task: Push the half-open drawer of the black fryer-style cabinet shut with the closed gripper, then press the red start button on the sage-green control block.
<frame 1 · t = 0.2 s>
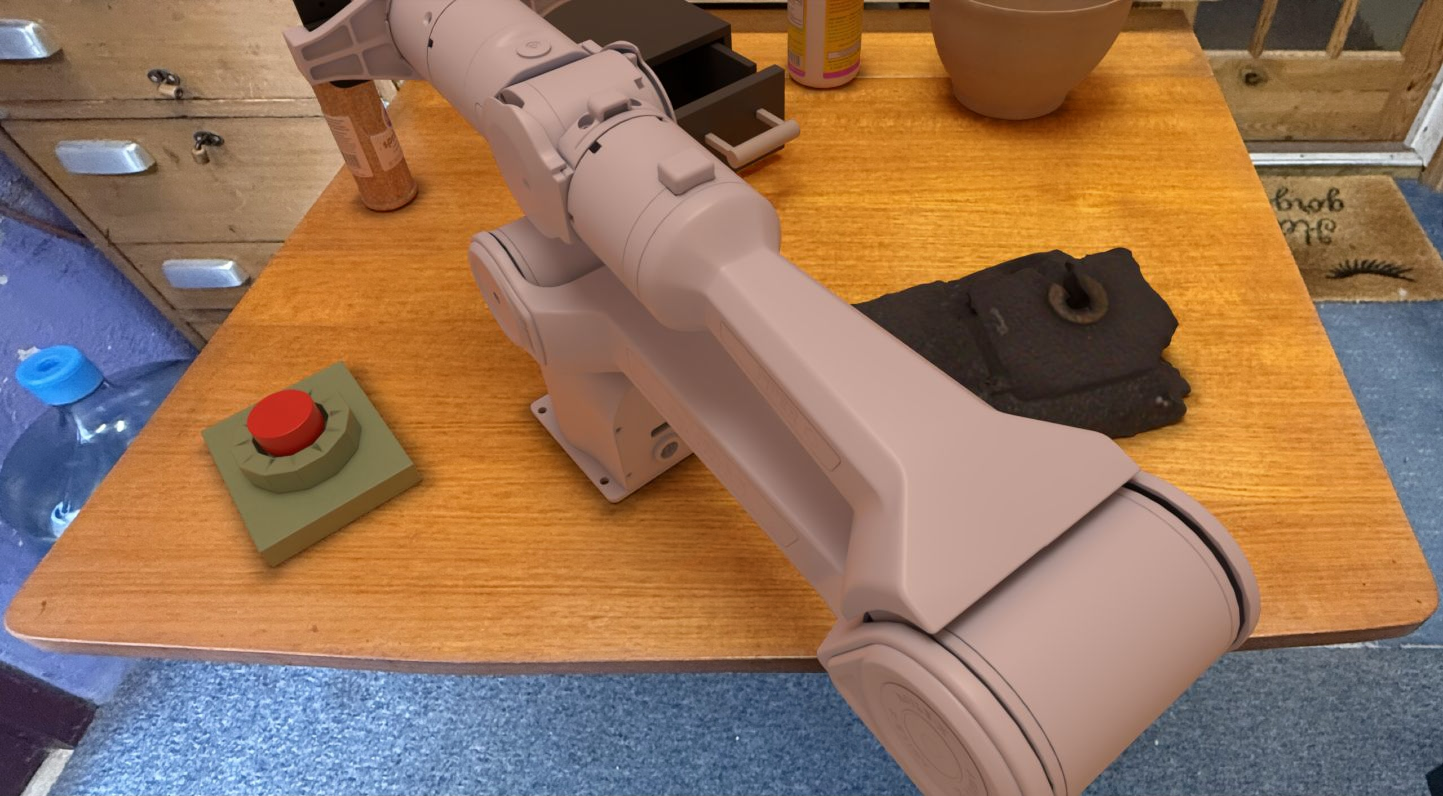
cabinet: (637, 115, 74), on the table
sprinkles bottle: (391, 198, 68), on the table
supplement bottle: (822, 75, 78), on the table
planter bowl: (1006, 96, 73), on the table
drawer: (701, 114, 66), point 4 cm above the table, slide at 6.0 cm
start button: (286, 422, 47), point 4 cm above the table, slide at 0.1 cm
control block: (316, 463, 50), on the table
black stepped slab: (984, 367, 53), on the table
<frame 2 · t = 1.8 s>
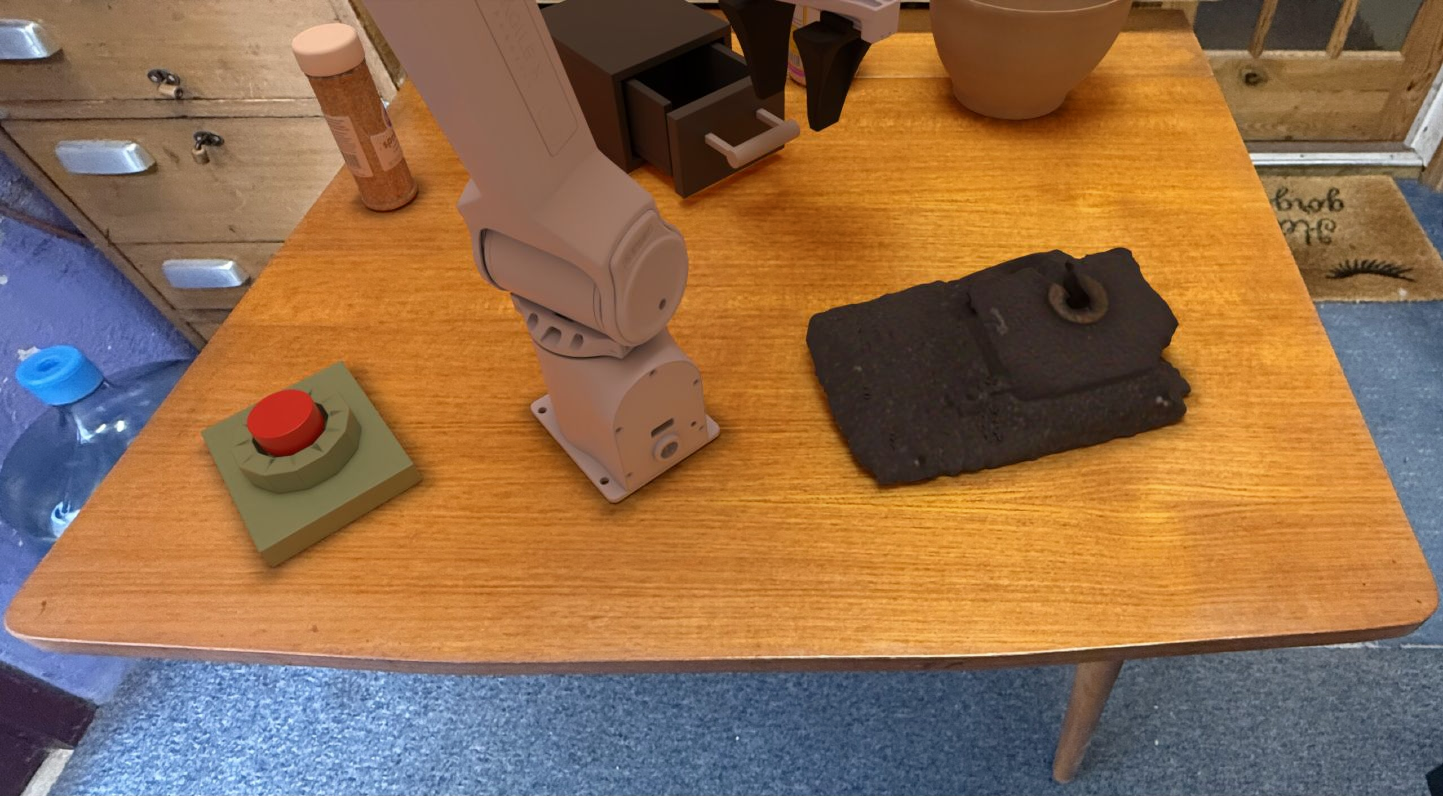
hand: (796, 109, 56), 9 cm above the table, tool pointing down, fingers open, 5 cm apart
nothing on the table moved.
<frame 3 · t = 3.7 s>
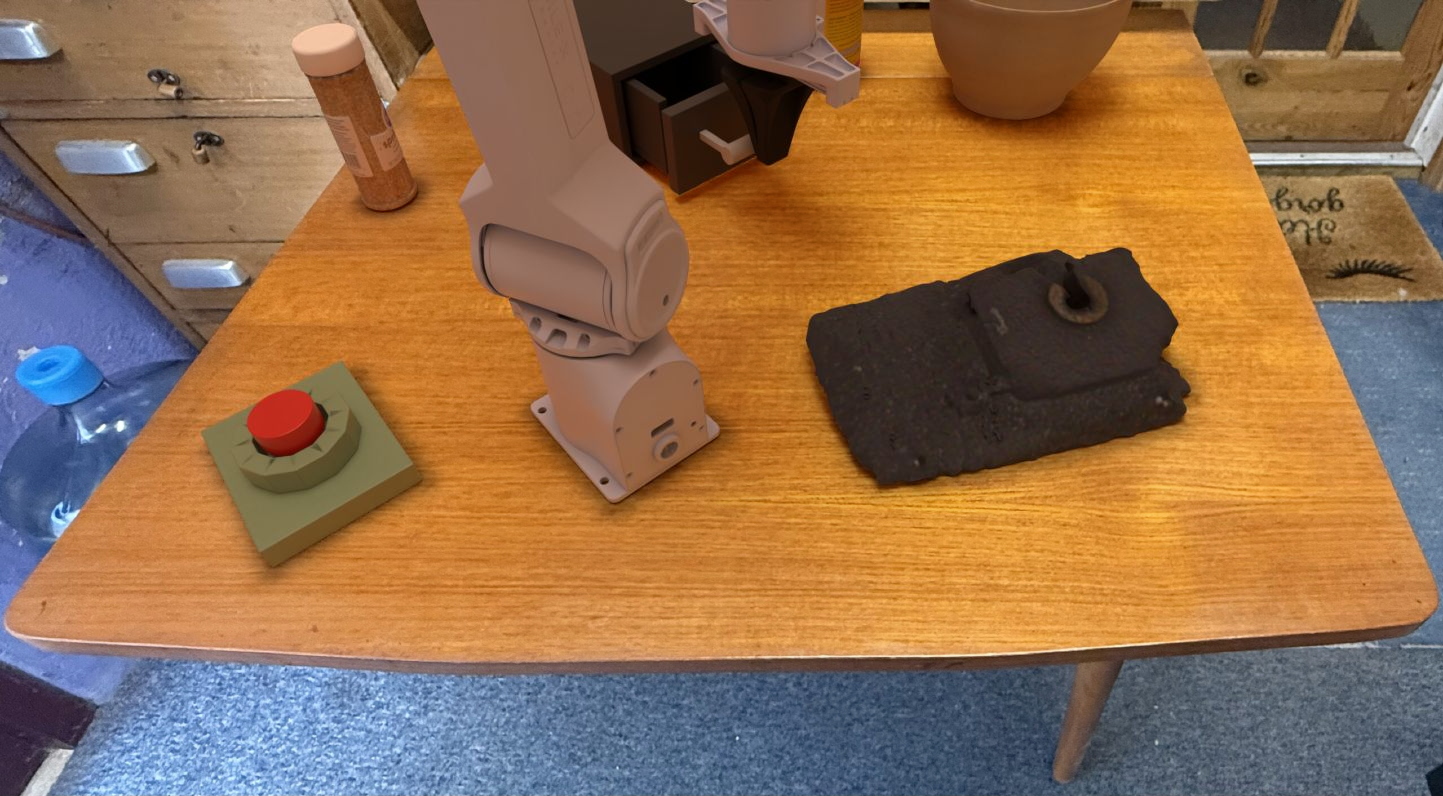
hand: (772, 157, 61), 4 cm above the table, tool pointing down, fingers closed
drawer: (696, 111, 66), point 4 cm above the table, slide at 5.4 cm, touching gripper
everything else where it was.
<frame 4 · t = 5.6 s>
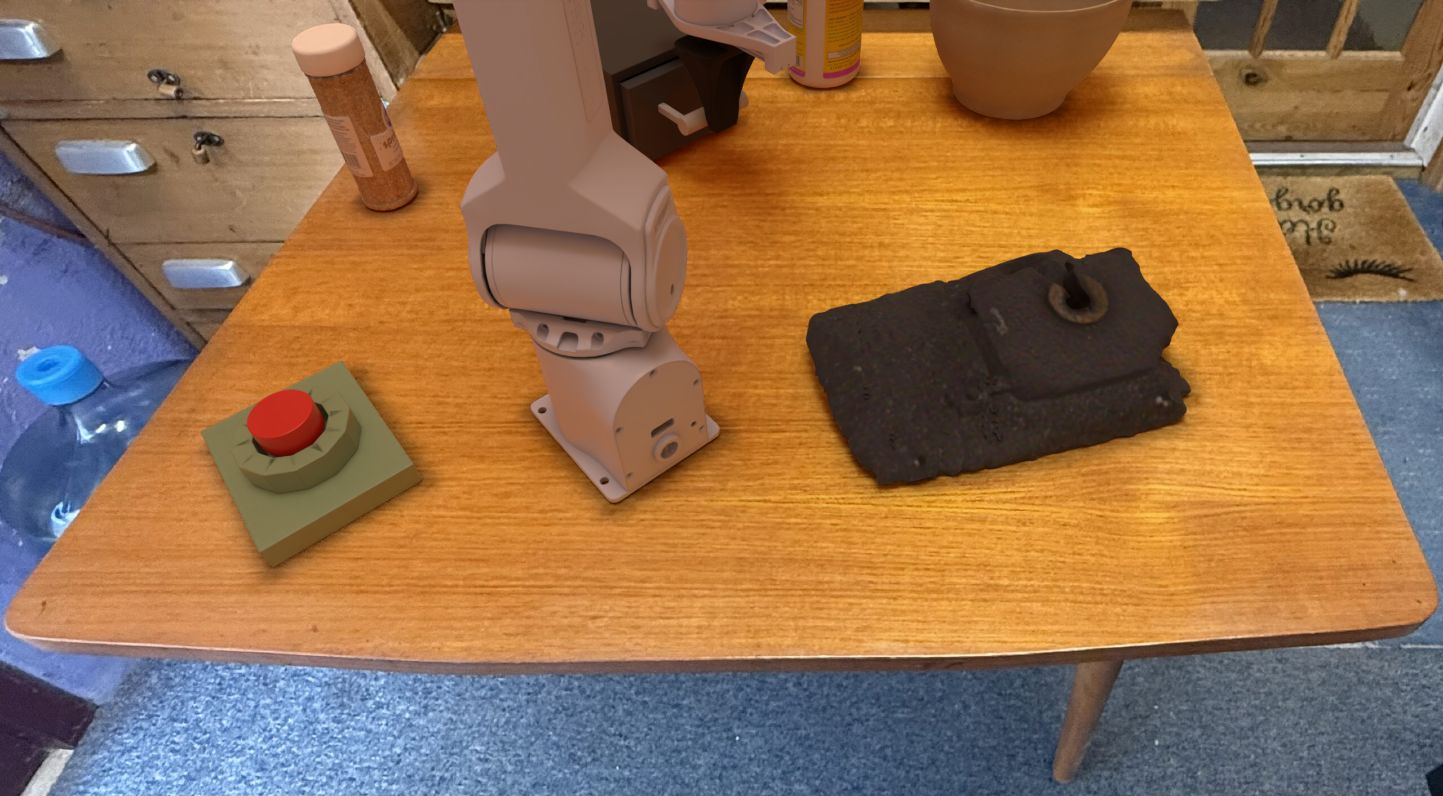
hand: (722, 126, 64), 4 cm above the table, tool pointing down, fingers closed, pressing on drawer
drawer: (657, 86, 69), point 4 cm above the table, slide at 0.0 cm, touching cabinet, gripper
everything else where it was.
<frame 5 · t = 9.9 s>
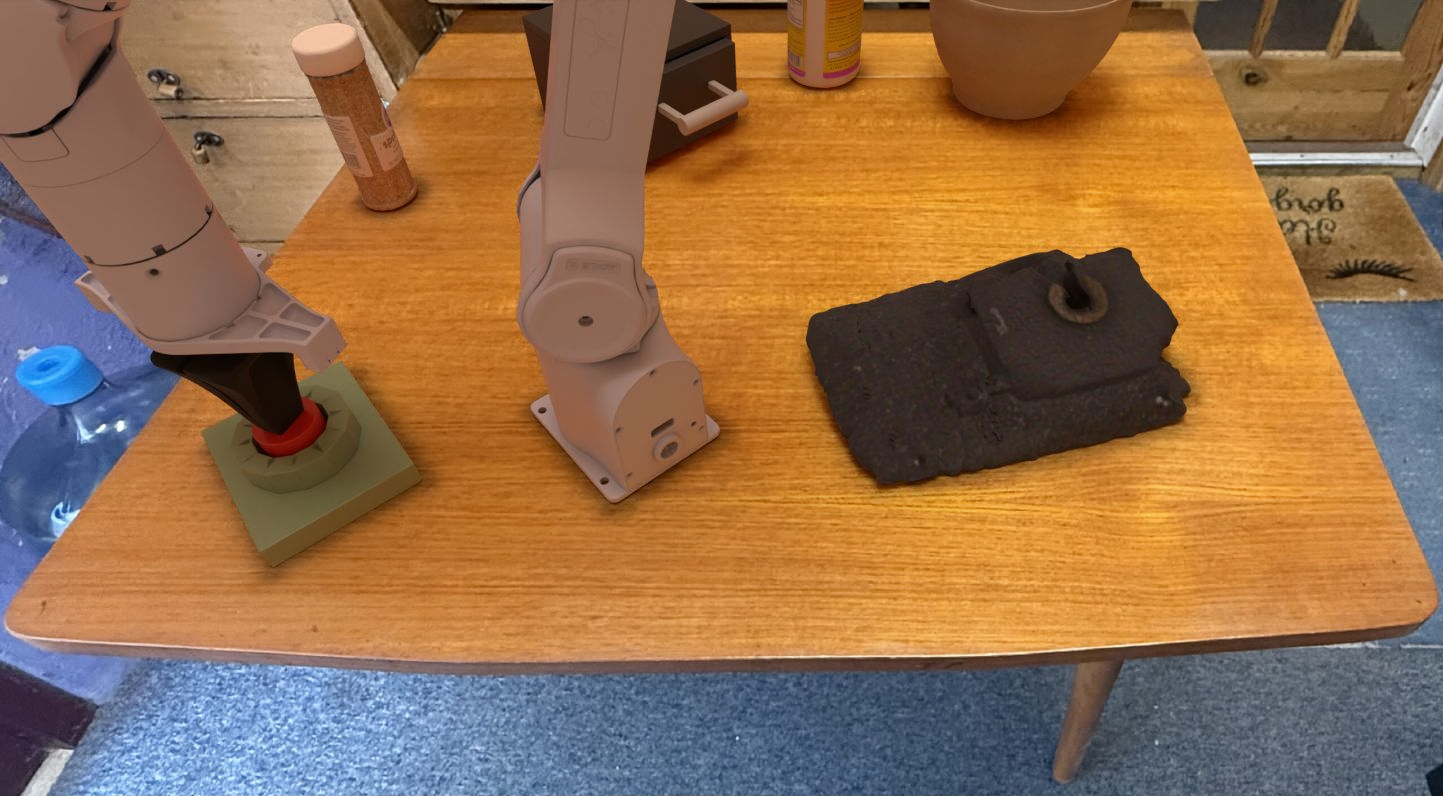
hand: (284, 419, 47), 4 cm above the table, tool pointing down, fingers closed, pressing on start button
drawer: (657, 86, 69), point 4 cm above the table, slide at 0.0 cm, touching cabinet
start button: (291, 429, 48), point 3 cm above the table, slide at -0.5 cm, touching gripper
everything else where it was.
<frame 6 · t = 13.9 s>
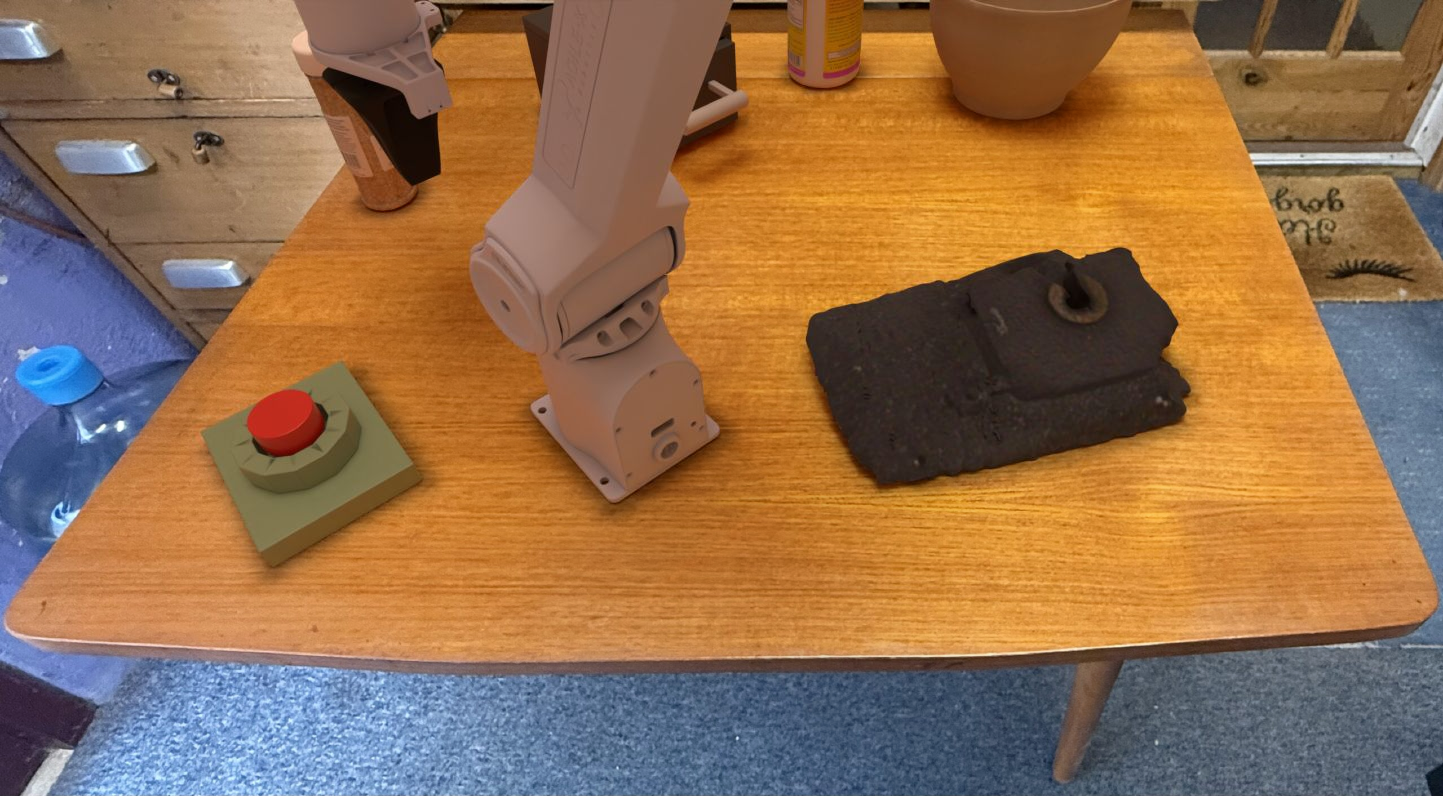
hand: (422, 175, 51), 10 cm above the table, tool pointing down, fingers closed
start button: (286, 422, 47), point 4 cm above the table, slide at 0.1 cm
everything else where it was.
at the end: drawer slide at 0.0 cm; start button pushed in 1.2 cm at the most during the clip, back to where it started at the end; start button slide at 0.1 cm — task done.
